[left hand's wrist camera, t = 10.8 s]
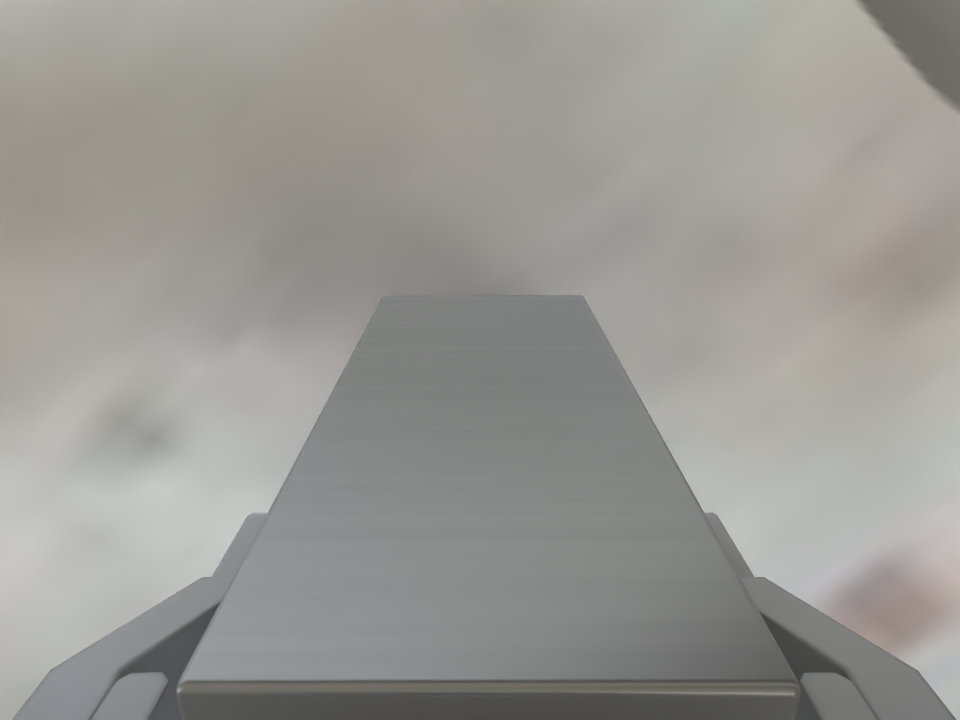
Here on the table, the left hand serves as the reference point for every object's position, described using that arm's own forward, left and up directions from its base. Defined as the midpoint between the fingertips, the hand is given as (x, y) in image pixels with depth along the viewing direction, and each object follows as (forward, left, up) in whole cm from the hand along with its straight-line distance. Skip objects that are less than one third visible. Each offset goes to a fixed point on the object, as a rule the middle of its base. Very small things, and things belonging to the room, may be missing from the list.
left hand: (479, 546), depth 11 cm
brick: (0, 0, -5) cm, 5 cm away
